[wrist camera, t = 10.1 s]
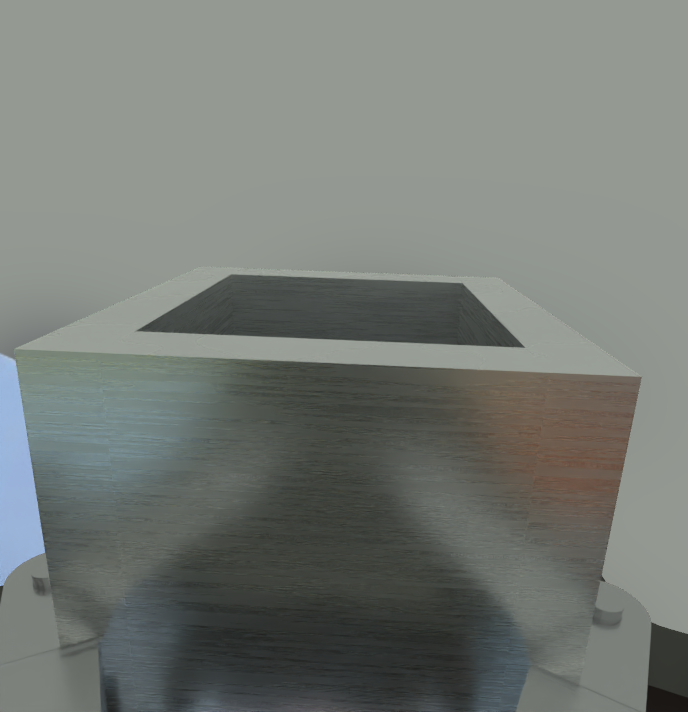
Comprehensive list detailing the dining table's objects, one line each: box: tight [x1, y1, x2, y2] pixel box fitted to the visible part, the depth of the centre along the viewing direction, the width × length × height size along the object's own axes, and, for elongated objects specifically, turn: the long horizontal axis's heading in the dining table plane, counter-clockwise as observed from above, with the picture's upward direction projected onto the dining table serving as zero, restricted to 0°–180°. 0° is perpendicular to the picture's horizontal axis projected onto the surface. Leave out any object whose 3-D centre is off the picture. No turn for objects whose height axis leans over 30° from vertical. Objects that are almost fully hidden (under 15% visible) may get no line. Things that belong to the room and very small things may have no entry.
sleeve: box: [14, 267, 642, 712], centre depth 10 cm, size 9×9×12 cm
